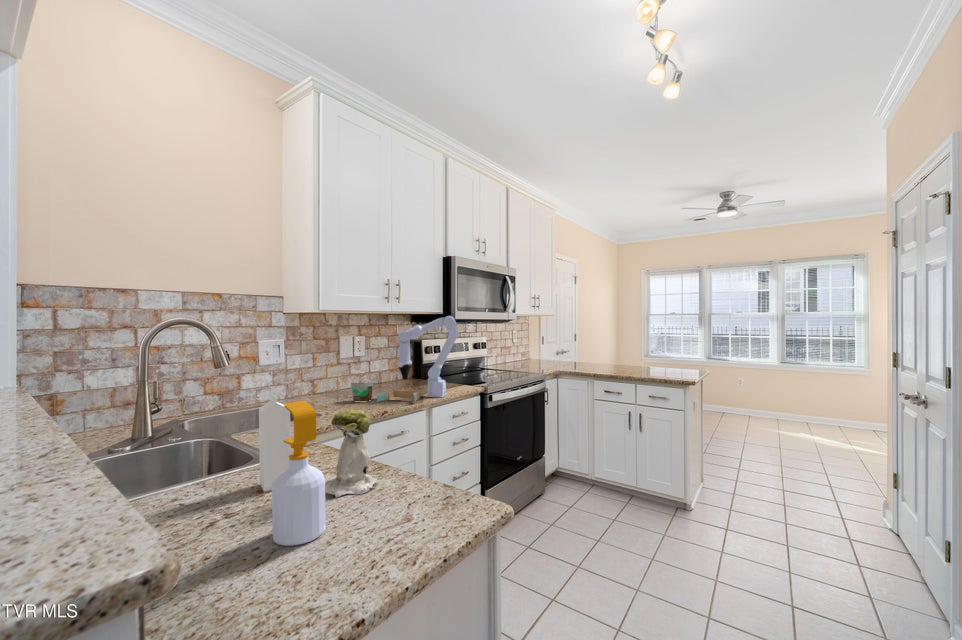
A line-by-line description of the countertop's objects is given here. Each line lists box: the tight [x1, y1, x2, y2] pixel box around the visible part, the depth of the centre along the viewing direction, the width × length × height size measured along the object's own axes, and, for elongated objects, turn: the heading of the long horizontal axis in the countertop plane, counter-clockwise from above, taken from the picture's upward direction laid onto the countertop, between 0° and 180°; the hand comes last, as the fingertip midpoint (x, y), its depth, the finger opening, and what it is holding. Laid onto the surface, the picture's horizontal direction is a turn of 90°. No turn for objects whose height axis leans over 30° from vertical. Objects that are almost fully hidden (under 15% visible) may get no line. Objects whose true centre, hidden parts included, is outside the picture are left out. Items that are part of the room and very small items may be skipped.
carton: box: [387, 389, 421, 402], centre depth 212 cm, size 15×8×4 cm, turn 78°
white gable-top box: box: [258, 394, 292, 493], centre depth 101 cm, size 6×6×22 cm
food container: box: [350, 380, 374, 401], centre depth 207 cm, size 12×6×10 cm, turn 73°
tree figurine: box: [325, 409, 379, 499], centre depth 99 cm, size 12×13×18 cm
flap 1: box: [376, 392, 388, 402], centre depth 206 cm, size 6×1×3 cm, turn 144°
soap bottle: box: [271, 400, 327, 547], centre depth 77 cm, size 9×9×25 cm
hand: (405, 379), depth 219 cm, fingers closed
